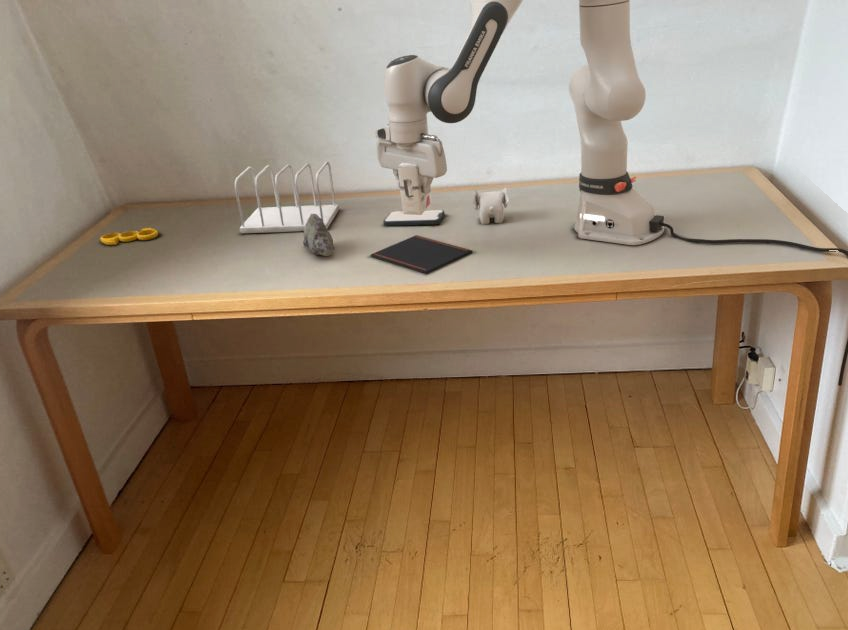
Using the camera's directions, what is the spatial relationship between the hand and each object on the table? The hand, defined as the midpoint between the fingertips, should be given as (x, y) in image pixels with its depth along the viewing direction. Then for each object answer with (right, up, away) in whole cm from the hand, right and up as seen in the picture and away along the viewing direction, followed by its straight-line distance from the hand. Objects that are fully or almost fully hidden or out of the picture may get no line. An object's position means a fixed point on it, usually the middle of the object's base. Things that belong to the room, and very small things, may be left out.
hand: (414, 190), depth 185 cm
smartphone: (-1, -2, +31) cm, 31 cm away
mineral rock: (-25, -13, +15) cm, 32 cm away
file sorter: (-37, -1, +39) cm, 54 cm away
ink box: (0, -4, +3) cm, 5 cm away
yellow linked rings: (-83, -6, +39) cm, 92 cm away
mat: (+2, -14, +8) cm, 17 cm away
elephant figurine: (+21, -2, +26) cm, 34 cm away
